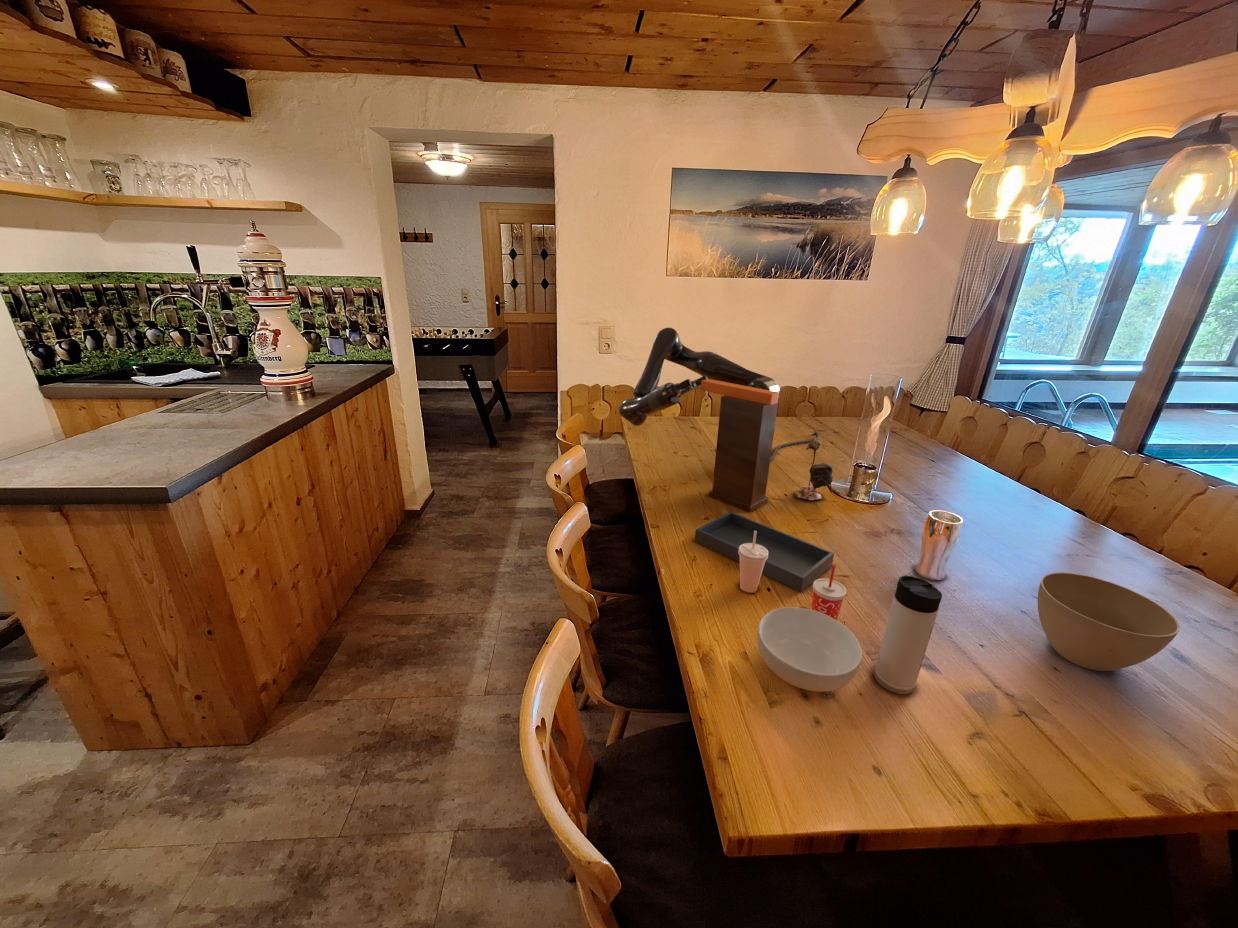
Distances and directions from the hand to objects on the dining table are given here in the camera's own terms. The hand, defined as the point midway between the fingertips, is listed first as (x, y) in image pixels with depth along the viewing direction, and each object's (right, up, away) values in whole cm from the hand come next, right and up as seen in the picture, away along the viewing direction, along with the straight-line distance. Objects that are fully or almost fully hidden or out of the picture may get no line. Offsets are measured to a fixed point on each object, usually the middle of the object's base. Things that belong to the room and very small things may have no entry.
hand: (698, 380), depth 153 cm
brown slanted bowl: (+62, -62, -61) cm, 107 cm away
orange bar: (+10, -6, -9) cm, 15 cm away
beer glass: (+49, -52, -37) cm, 80 cm away
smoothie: (+4, -54, -43) cm, 69 cm away
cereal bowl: (+8, -63, -66) cm, 91 cm away
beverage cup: (+16, -59, -55) cm, 82 cm away
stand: (+12, -37, 0) cm, 39 cm away
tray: (+11, -49, -30) cm, 58 cm away
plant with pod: (+36, -37, +2) cm, 52 cm away
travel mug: (+23, -64, -68) cm, 96 cm away
